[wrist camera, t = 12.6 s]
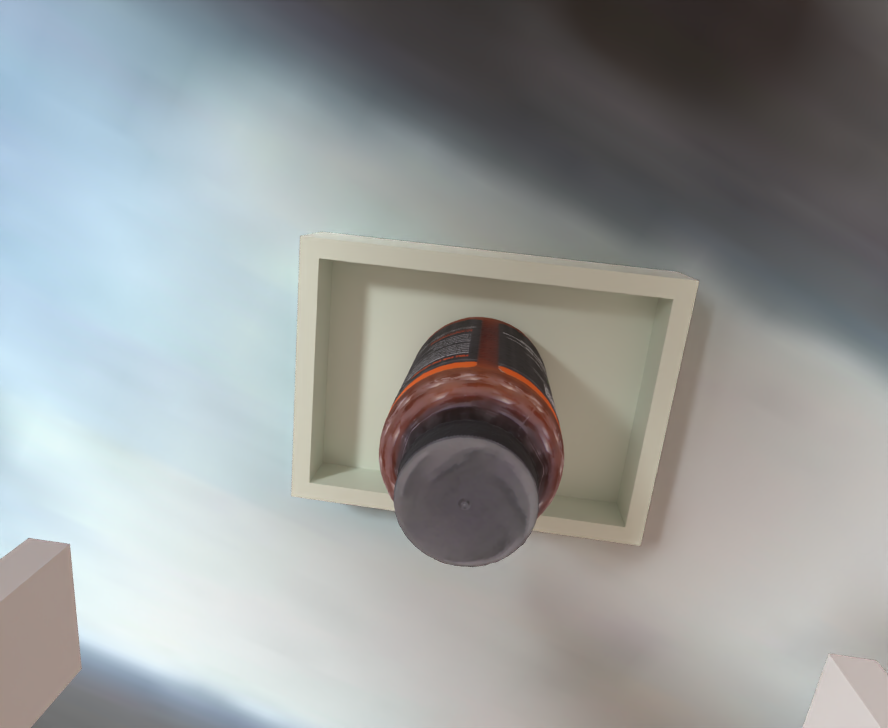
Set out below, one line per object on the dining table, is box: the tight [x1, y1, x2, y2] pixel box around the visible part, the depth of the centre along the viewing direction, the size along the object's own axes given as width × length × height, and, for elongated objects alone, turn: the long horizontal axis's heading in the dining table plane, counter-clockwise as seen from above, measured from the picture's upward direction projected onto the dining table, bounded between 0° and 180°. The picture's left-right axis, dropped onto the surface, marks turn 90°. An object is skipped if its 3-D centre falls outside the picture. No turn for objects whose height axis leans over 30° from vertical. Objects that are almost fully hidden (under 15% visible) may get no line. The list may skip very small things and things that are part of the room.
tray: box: [291, 232, 699, 546], centre depth 26 cm, size 16×12×3 cm
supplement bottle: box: [379, 317, 564, 567], centre depth 21 cm, size 6×6×11 cm
